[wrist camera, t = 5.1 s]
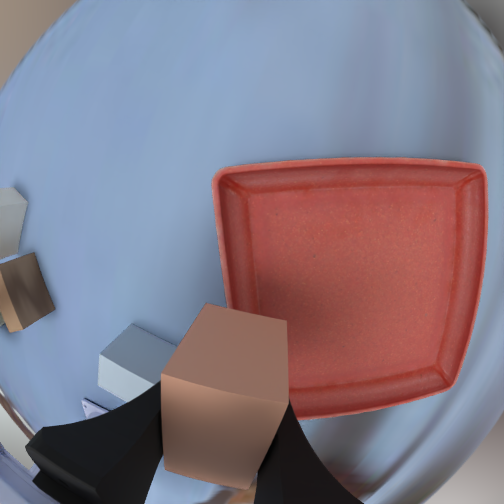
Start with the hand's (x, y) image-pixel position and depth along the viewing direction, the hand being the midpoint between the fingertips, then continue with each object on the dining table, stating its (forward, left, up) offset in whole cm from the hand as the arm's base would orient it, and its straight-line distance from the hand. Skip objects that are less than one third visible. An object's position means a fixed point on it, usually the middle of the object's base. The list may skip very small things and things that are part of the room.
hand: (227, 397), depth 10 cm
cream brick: (+2, +25, -9) cm, 27 cm away
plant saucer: (+3, -8, -9) cm, 12 cm away
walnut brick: (-4, +21, -9) cm, 23 cm away
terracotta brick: (0, 0, -2) cm, 2 cm away
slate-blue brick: (-6, +6, -9) cm, 12 cm away
